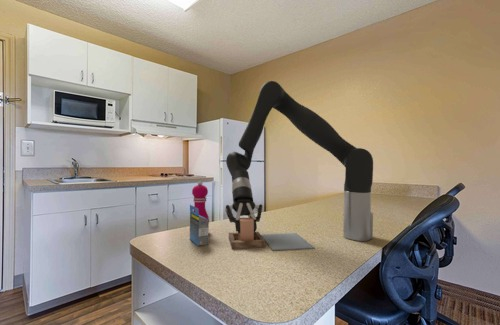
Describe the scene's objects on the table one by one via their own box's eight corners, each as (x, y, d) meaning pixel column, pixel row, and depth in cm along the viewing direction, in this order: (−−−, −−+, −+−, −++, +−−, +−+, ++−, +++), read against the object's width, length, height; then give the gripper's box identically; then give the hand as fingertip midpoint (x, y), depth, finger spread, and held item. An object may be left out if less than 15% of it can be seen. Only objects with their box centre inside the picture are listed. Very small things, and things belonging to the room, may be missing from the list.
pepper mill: (212, 231, 96) (213, 181, 96) (199, 236, 90) (200, 182, 90) (199, 228, 100) (199, 180, 100) (185, 233, 94) (186, 181, 94)
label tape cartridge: (209, 244, 82) (209, 207, 82) (197, 246, 80) (198, 208, 79) (199, 237, 89) (199, 203, 89) (188, 239, 87) (189, 204, 87)
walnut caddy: (258, 236, 91) (258, 231, 91) (265, 247, 80) (265, 241, 80) (228, 238, 89) (228, 232, 89) (231, 248, 78) (231, 242, 78)
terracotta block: (251, 240, 87) (251, 217, 87) (253, 244, 82) (253, 220, 82) (238, 240, 86) (238, 217, 86) (240, 244, 82) (240, 221, 82)
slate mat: (296, 234, 95) (296, 233, 95) (314, 248, 79) (314, 247, 79) (261, 235, 92) (261, 234, 92) (272, 250, 77) (272, 249, 77)
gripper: (224, 185, 91) (226, 226, 79) (261, 185, 93) (269, 225, 81) (222, 197, 96) (224, 238, 84) (258, 197, 99) (265, 236, 87)
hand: (246, 231), depth 83 cm, fingers closed on terracotta block, 4 cm apart
